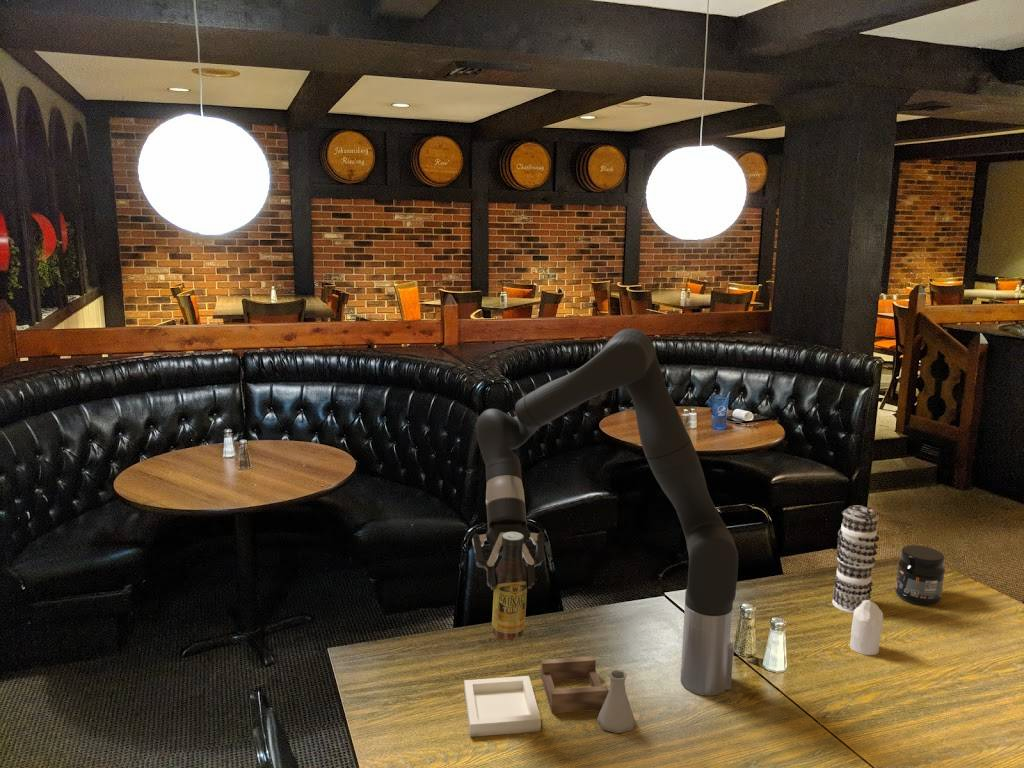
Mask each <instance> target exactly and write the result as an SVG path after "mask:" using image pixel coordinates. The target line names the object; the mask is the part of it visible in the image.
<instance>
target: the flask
mask: <svg viewBox="0 0 1024 768" xmlns="http://www.w3.org/2000/svg"><path fill="white" fill-rule="evenodd" d="M627 676H628V674H627V673H626V672H625V671H624V670H622V669H613V670H610V671H609V675H608V677H609V678H610V682H609V688H608V690H609V692H608V695H607V697H606V700H605V702H604V704H603V706H602V708H601V709H600V711H599V714H598V716H597V719H596V722H597V723H598V725H599V726H600V728H601V730H603V731H607V732H612V733H617V734H619V733H620V734H621V733H626V732H631V731H633V730H634V727H635V723H636V719H635V716H634V713H633V710H632V708H631V705H630V702H629V699H628V694H627V692H626V685H625V681H626V678H627Z"/></svg>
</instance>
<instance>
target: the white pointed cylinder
mask: <svg viewBox="0 0 1024 768" xmlns="http://www.w3.org/2000/svg"><path fill="white" fill-rule="evenodd" d="M852 615H853V616H852V621H851V630H850V632H851V633H850V641H849V647H850V649H851V650H852V651H854V652H856V653H858V654H861V655H863V656H874V655H875V656H876V655H877V654H879V652H880V642H881V635H882V630H883V623H884V614H883V611H882V610H881V609H880V608H879V606H878V604H876V603H875V602H873V601H871V599H870V600H864V601H862V603H861V605H860V606H859V607H857V608H856V609H855V610H854V614H853V613H852Z"/></svg>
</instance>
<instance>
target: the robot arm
mask: <svg viewBox="0 0 1024 768" xmlns="http://www.w3.org/2000/svg"><path fill="white" fill-rule="evenodd" d="M658 359H659V358H658V355H657V352H656V350H655V347H654V344H653V342H652V340H651V339H650V338H649V336H648V335H646V334H645V333H644V332H643V331H641V330H638V329H636V328H624V329H622V330H619V331H618V332H617V333H615V334H614V335H613V336H612V337H610V340H608V341H607V342H606V344H605V345H604V346H603V348H602V349H601V350H600V351H599V352H598V353H597V354H595V355H594V356H593V357H592V358H591V359H589V360H588V361H587V362H586V363H584V364H583V365H581V366H580V367H579V368H576V370H573V371H572V372H570V373H568V374H566V375H563V376H561V377H558V378H556V379H553V380H551V381H549V382H547V383H545V384H543V385H541V386H540V387H538V388H536V389H534V390H533V391H530V392H529V393H528V394H526V395H523V397H521V398H520V399H518V400H517V402H516V403H515V405H514V407H515V408H514V410H515V411H514V412H515V415H516V416H511V415H509V414H507V412H503V411H502V410H500V409H497V408H488V409H487V408H486V409H485V410H484V411H482V413H480V415H479V416H478V419H477V421H476V424H475V425H476V426H475V427H476V428H475V434H476V439H477V443H478V447H479V450H480V453H481V457H482V459H483V462H484V465H485V479H486V480H485V481H486V490H485V505H486V517H487V530H486V533H484V534H483V533H482V534H479V533H478V532H477V533H473V535H472V539H471V543H472V548H473V554H474V559H475V560H474V561H475V564H476V567H477V568H478V569H479V568H480V569H481V568H482V569H484V570H485V571H486V585H487V587H488V588H490V589H491V591H494V590H495V588H496V581H495V570H496V567H495V564H496V562H497V560H498V557H499V555H500V556H502V551H503V544H502V535H503V534H504V533H506V532H518V533H521V534H522V535H523V536H524V544H523V546H522V555H523V557H522V559H523V561H524V562H525V564H526V566H527V590H529V589H532V587H533V586H534V585H535V583H536V573H535V567H540V566H542V563H543V561H544V557H545V556H544V555H545V553H544V551H545V550H544V549H545V533H544V532H543V531H539V532H538V533H536V532H530V530H529V529H528V523H527V512H526V511H527V510H526V501H525V499H526V498H525V491H524V490H525V489H524V486H523V481H522V478H523V477H522V468H521V461H520V459H519V457H518V455H517V454H516V453H515V452H514V450H517V449H519V448H520V447H521V446H522V445H524V444H525V443H526V442H527V441H528V440H529V439H530V438H531V437H532V436H533V435H534V434H535V433H536V431H538V430H539V429H540V428H541V427H543V426H545V425H547V424H548V423H550V422H553V421H554V420H556V419H557V418H559V417H561V416H562V415H564V414H566V413H567V412H569V411H571V410H572V409H574V408H576V407H578V406H579V405H581V404H583V403H585V402H586V401H589V400H591V399H594V398H595V397H598V396H600V395H603V394H604V393H607V392H610V391H613V390H616V389H619V388H621V387H624V386H625V387H626V390H627V392H628V393H629V396H630V399H631V400H632V404H633V407H634V411H635V417H636V425H637V430H638V435H639V440H640V444H641V447H642V450H643V453H644V456H645V458H646V461H647V463H648V465H649V468H650V470H651V472H652V474H653V476H654V478H655V479H656V481H657V483H658V485H659V486H660V488H661V490H662V492H664V494H665V495H666V497H667V498H668V499H669V501H670V502H671V504H672V506H673V508H674V509H675V511H676V514H677V517H678V519H679V522H680V525H681V528H682V531H683V535H684V538H685V539H684V540H685V542H686V548H687V554H688V570H687V587H686V590H685V596H684V611H683V613H684V615H683V631H682V645H681V646H682V647H681V662H680V663H681V664H680V682H681V685H682V686H683V687H684V688H685V689H686V690H687V691H689V692H691V693H694V694H697V695H702V696H710V697H711V696H716V695H717V696H718V695H720V694H722V693H724V692H725V691H727V690H728V691H729V690H731V689H732V679H733V675H732V674H733V667H734V665H733V664H734V663H733V661H734V649H735V647H734V644H733V643H732V642H731V637H732V636H731V635H732V634H731V633H732V622H733V606H734V601H735V599H736V593H737V583H738V574H739V553H738V550H737V546H736V544H735V540H734V538H733V536H732V534H731V532H730V530H729V529H728V527H727V525H726V524H725V522H724V520H723V519H722V517H721V515H720V514H719V511H718V510H717V507H716V506H715V504H714V502H713V500H712V498H711V496H710V491H709V489H708V485H707V482H706V477H705V474H704V471H703V468H702V465H701V462H700V461H701V460H700V459H699V456H698V453H697V451H696V449H695V447H694V444H693V441H692V440H691V437H690V435H689V433H688V430H687V429H686V425H684V422H683V420H682V417H681V416H680V413H679V411H678V409H677V406H676V404H675V403H674V401H673V398H672V397H671V395H670V392H669V390H668V387H667V385H666V382H665V379H664V375H663V372H662V368H661V365H660V362H659V360H658ZM529 540H531V541H532V544H533V545H534V546H535V547H536V548H535V557H534V558H533V557H532V555H531V554H530V551H529V549H528V547H527V544H528V542H529ZM485 541H486V542H487V543H488V544H489V546H491V547H492V551H491V554H490V556H489V558H488V559H485V558H484V556H483V555H484V554H483V549H482V547H484V544H485Z"/></svg>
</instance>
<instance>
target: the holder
mask: <svg viewBox="0 0 1024 768" xmlns="http://www.w3.org/2000/svg"><path fill="white" fill-rule="evenodd" d="M540 661H541V663H540V679H541V681H542V685H543V688H544V692H545V695H546V699H547V702H548V706H549V708H550V712H551V714H560V713H573V712H583V711H584V712H585V711H597V710H598V711H599V710H600V711H601V708H602V706H603V704H604V702H605V700H606V697H607V695H608V692H609V688H608V685H603V684H602V682H601V678H600V677H599V675H598V672H597V670H596V664H597V663H596V657H595V656H594V655H593V656H592V655H590V656H580V657H577V656H576V657H562V658H549V659H547V658H546V659H540ZM581 679H582V680H583V679H587V680H588V682H589V684H590V686H587V687H585V686H584V687H583V686H582V687H571V688H559V689H558V688H557V689H556V688H555V685H554V682H556V681H569V680H571V681H572V680H581Z"/></svg>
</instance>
